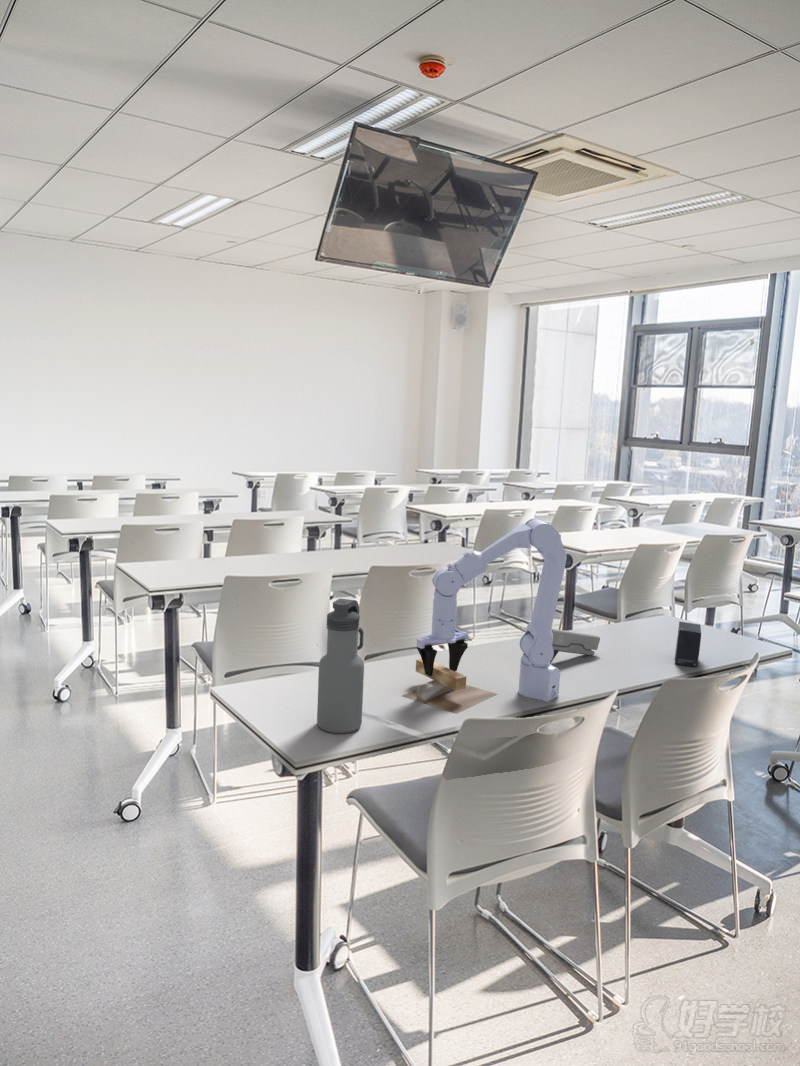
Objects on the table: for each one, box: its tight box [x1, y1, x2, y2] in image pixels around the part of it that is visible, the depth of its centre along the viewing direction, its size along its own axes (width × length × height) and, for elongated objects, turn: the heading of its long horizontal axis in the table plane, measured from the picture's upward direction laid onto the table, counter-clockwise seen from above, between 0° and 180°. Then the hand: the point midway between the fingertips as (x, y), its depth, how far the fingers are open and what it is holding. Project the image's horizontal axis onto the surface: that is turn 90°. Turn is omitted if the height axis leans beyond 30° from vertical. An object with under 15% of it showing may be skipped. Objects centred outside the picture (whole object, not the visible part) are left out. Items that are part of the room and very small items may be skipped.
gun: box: [550, 628, 601, 665], centre depth 233 cm, size 2×25×10 cm, turn 125°
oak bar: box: [415, 658, 467, 691], centre depth 198 cm, size 16×3×3 cm, turn 36°
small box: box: [674, 621, 702, 668], centre depth 237 cm, size 11×6×10 cm, turn 161°
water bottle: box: [316, 598, 365, 734], centre depth 175 cm, size 10×10×28 cm
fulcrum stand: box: [401, 671, 498, 714], centre depth 197 cm, size 16×18×4 cm
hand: (440, 672), depth 198 cm, fingers open, 7 cm apart
